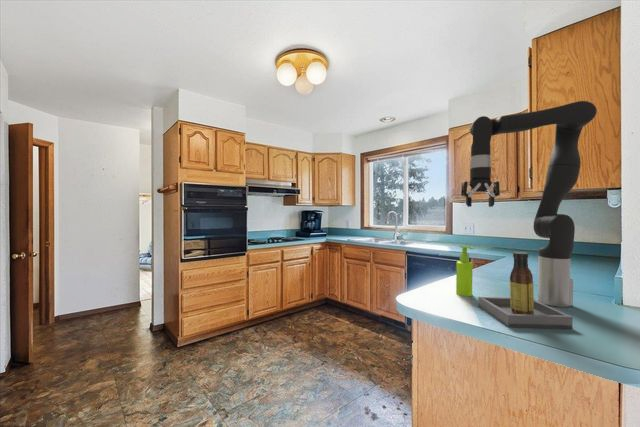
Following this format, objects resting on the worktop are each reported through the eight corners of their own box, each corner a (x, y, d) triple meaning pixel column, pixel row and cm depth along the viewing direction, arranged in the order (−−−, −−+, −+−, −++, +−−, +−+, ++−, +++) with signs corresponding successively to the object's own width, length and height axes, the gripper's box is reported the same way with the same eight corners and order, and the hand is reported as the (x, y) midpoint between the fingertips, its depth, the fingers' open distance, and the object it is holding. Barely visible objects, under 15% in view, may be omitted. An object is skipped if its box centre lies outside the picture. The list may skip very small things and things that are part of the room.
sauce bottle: (526, 310, 95) (526, 251, 95) (538, 317, 89) (539, 254, 89) (505, 309, 96) (506, 251, 95) (516, 316, 89) (516, 253, 89)
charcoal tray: (530, 307, 101) (530, 298, 101) (572, 328, 83) (572, 317, 83) (478, 306, 102) (478, 296, 102) (508, 327, 84) (508, 315, 84)
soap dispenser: (468, 297, 112) (468, 247, 112) (453, 293, 118) (453, 245, 118) (477, 295, 115) (478, 246, 115) (462, 291, 121) (462, 244, 121)
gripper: (493, 168, 120) (493, 206, 120) (458, 168, 121) (458, 206, 121) (503, 165, 112) (503, 206, 113) (466, 165, 113) (466, 206, 114)
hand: (480, 206), depth 117 cm, fingers open, 8 cm apart
